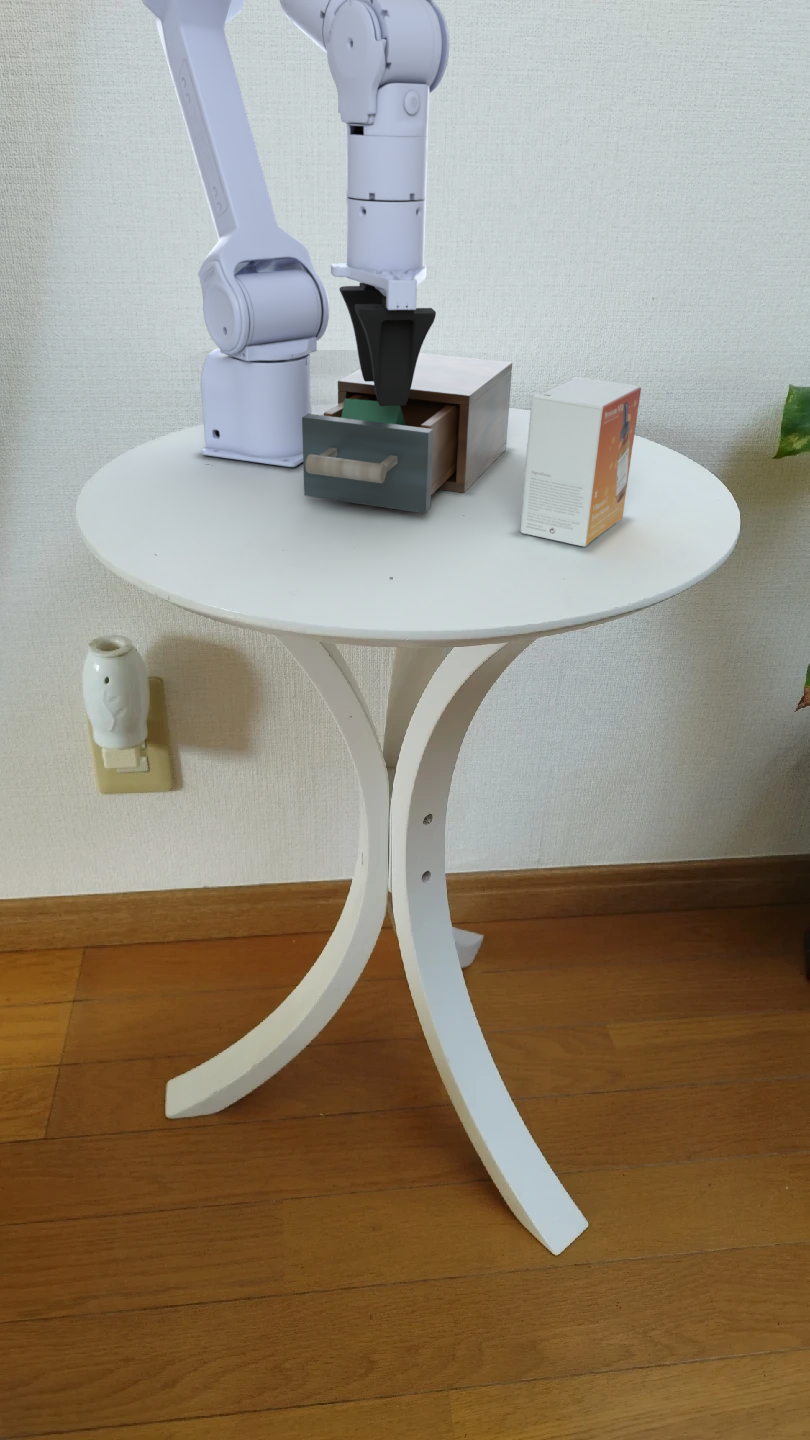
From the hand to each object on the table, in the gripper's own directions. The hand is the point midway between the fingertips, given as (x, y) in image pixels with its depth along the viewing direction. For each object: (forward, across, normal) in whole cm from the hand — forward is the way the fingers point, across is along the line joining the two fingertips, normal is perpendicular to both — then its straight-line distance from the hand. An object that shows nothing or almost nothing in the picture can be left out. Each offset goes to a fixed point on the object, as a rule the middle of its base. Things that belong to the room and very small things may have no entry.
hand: (384, 392), depth 80 cm
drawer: (+8, 0, 0) cm, 8 cm away
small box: (+9, +8, +14) cm, 18 cm away
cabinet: (+9, -10, +6) cm, 14 cm away
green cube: (+5, 0, -1) cm, 5 cm away
